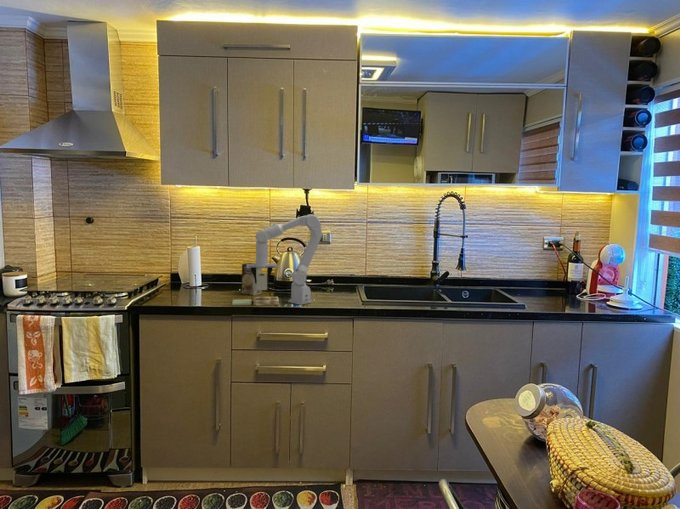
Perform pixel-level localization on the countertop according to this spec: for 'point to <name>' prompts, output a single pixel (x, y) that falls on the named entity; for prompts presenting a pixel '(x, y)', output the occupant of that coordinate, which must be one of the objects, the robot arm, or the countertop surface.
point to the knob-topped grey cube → (261, 281)
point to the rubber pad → (242, 302)
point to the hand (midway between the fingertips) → (261, 282)
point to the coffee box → (249, 280)
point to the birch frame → (266, 301)
